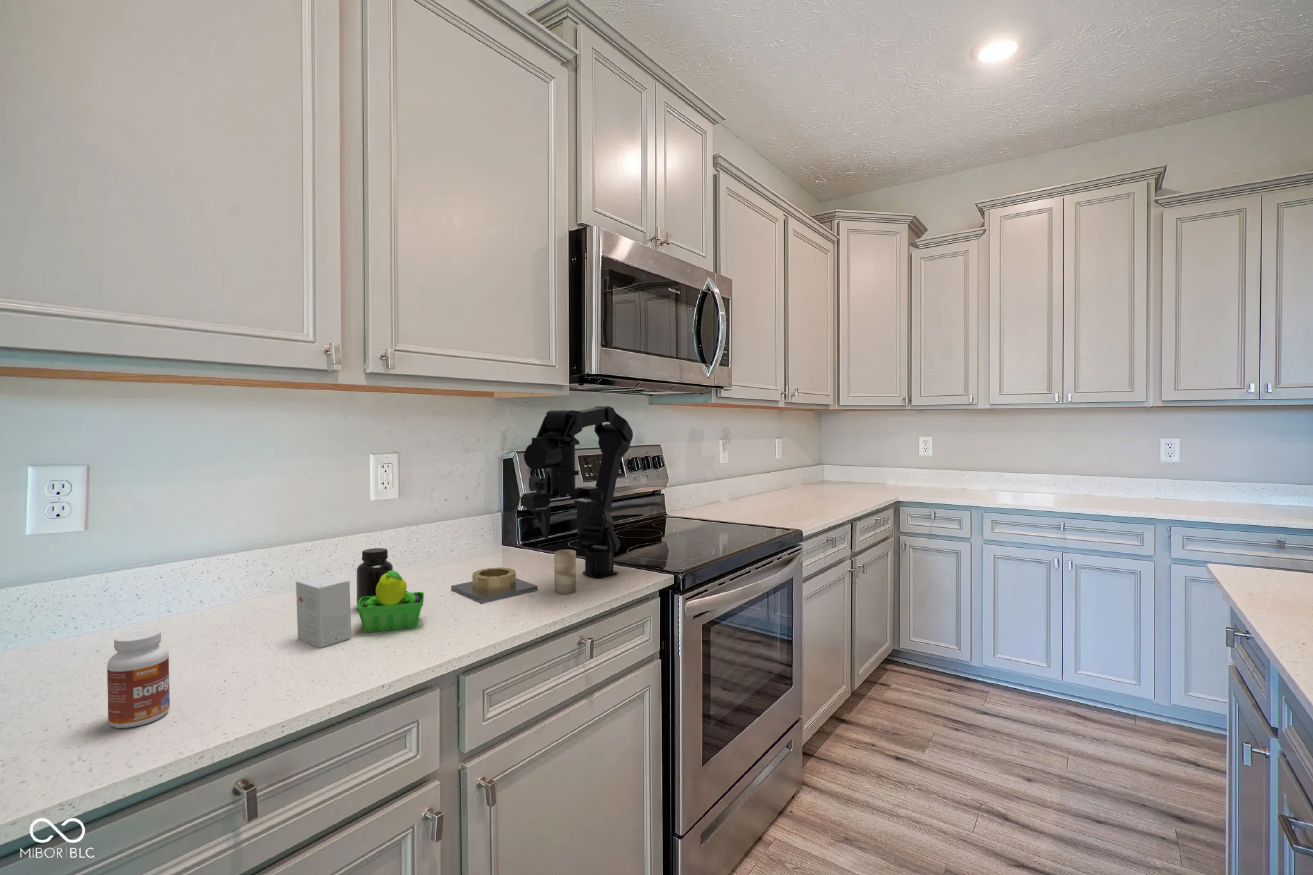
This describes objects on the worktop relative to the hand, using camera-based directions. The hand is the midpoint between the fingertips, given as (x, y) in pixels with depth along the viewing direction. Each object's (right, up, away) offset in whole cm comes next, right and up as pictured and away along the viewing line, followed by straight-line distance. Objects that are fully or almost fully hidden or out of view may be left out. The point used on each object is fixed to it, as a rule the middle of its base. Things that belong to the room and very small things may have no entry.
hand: (563, 534), depth 137 cm
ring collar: (-16, -13, +1) cm, 20 cm away
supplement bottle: (-37, -14, -11) cm, 41 cm away
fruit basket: (-29, -14, -23) cm, 39 cm away
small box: (-38, -14, -29) cm, 50 cm away
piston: (0, -13, 0) cm, 13 cm away
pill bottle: (-47, -15, -57) cm, 75 cm away
